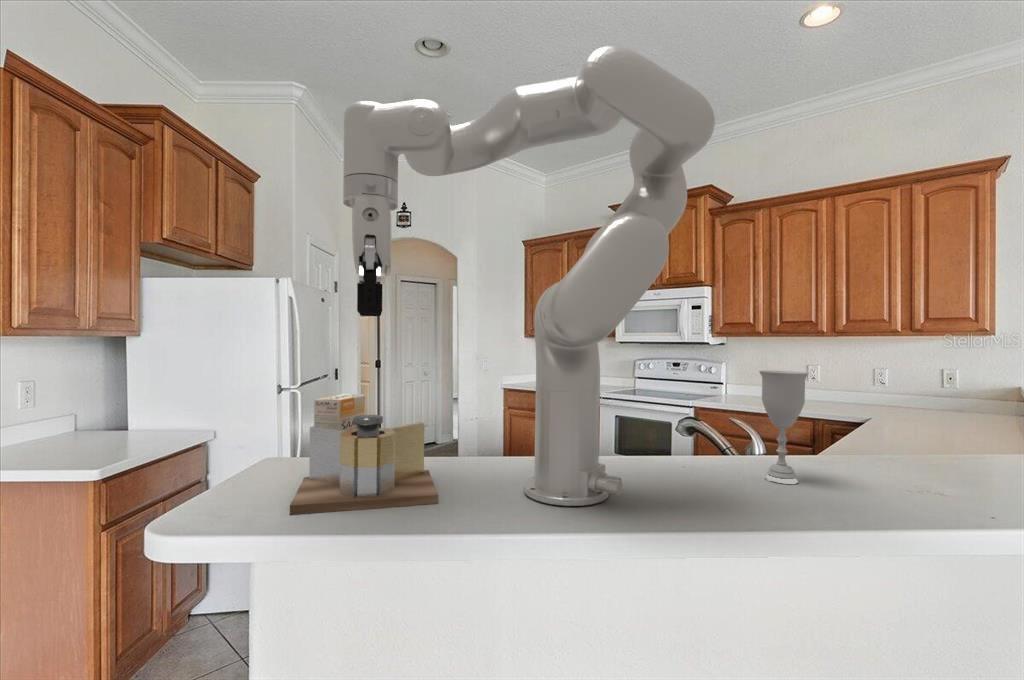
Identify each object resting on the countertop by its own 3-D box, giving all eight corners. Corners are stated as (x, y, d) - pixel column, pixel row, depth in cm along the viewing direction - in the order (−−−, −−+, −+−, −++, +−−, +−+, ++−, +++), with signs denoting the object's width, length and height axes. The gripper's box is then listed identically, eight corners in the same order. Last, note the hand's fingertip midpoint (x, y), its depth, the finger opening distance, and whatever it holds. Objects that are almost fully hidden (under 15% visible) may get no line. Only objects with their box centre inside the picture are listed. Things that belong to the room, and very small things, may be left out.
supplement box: (339, 482, 78) (340, 399, 77) (312, 480, 78) (312, 398, 78) (365, 469, 86) (366, 393, 86) (340, 467, 87) (340, 392, 86)
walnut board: (437, 503, 69) (438, 494, 69) (289, 514, 64) (289, 505, 64) (428, 477, 81) (428, 469, 81) (304, 484, 76) (304, 477, 76)
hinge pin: (388, 489, 71) (388, 416, 71) (364, 496, 67) (365, 420, 67) (370, 484, 73) (371, 413, 73) (347, 490, 70) (347, 417, 70)
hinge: (430, 492, 70) (431, 435, 70) (299, 501, 65) (299, 441, 65) (423, 471, 80) (423, 422, 80) (310, 478, 76) (310, 425, 76)
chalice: (807, 479, 83) (809, 372, 83) (806, 489, 77) (808, 374, 77) (759, 472, 87) (761, 369, 87) (754, 481, 81) (756, 372, 81)
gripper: (400, 179, 63) (399, 312, 64) (395, 211, 80) (394, 317, 80) (339, 173, 61) (338, 311, 62) (346, 208, 78) (345, 316, 78)
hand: (370, 314), depth 71 cm, fingers open, 9 cm apart
